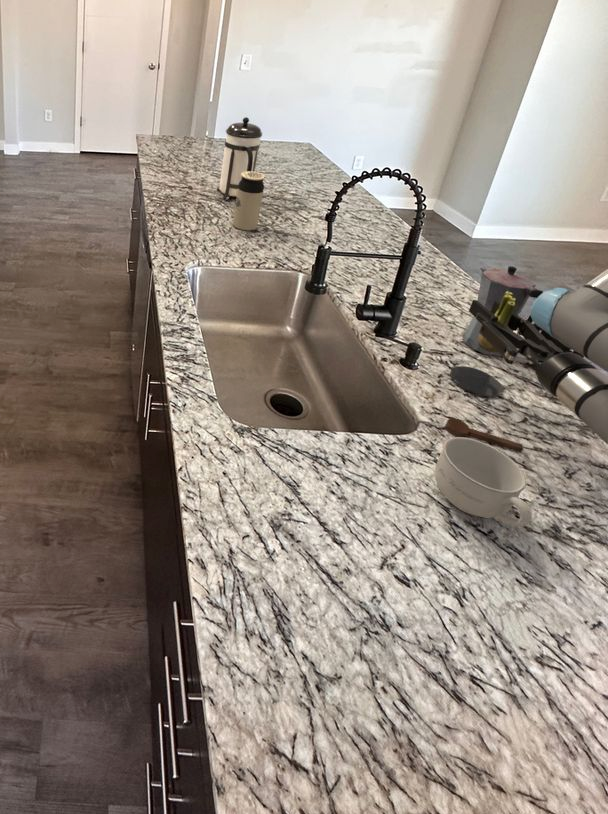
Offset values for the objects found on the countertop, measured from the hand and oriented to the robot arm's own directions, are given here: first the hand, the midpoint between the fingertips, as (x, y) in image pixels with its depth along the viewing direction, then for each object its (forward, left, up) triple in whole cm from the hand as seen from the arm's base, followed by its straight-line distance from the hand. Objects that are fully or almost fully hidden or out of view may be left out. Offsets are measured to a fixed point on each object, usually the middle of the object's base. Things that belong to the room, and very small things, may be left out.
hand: (483, 306), depth 109 cm
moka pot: (-6, -11, -15) cm, 20 cm away
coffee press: (+67, -76, -15) cm, 103 cm away
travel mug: (+58, -50, -15) cm, 78 cm away
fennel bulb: (-2, +5, -7) cm, 9 cm away
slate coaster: (-2, +5, -15) cm, 16 cm away
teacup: (+2, +40, -15) cm, 43 cm away
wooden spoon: (-2, +22, -15) cm, 27 cm away
